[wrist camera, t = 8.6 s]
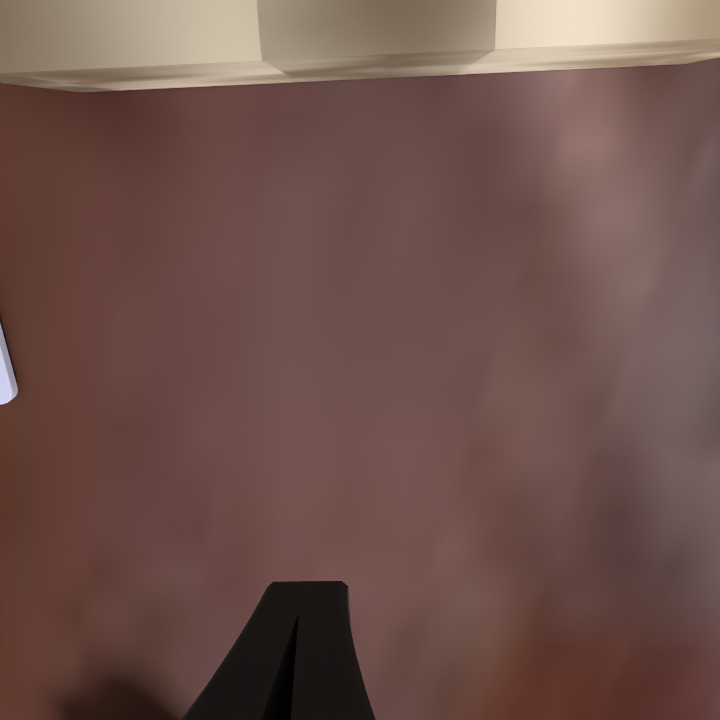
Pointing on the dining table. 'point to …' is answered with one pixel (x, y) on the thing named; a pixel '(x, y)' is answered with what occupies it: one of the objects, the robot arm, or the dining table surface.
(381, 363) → the dining table surface
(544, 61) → the block
